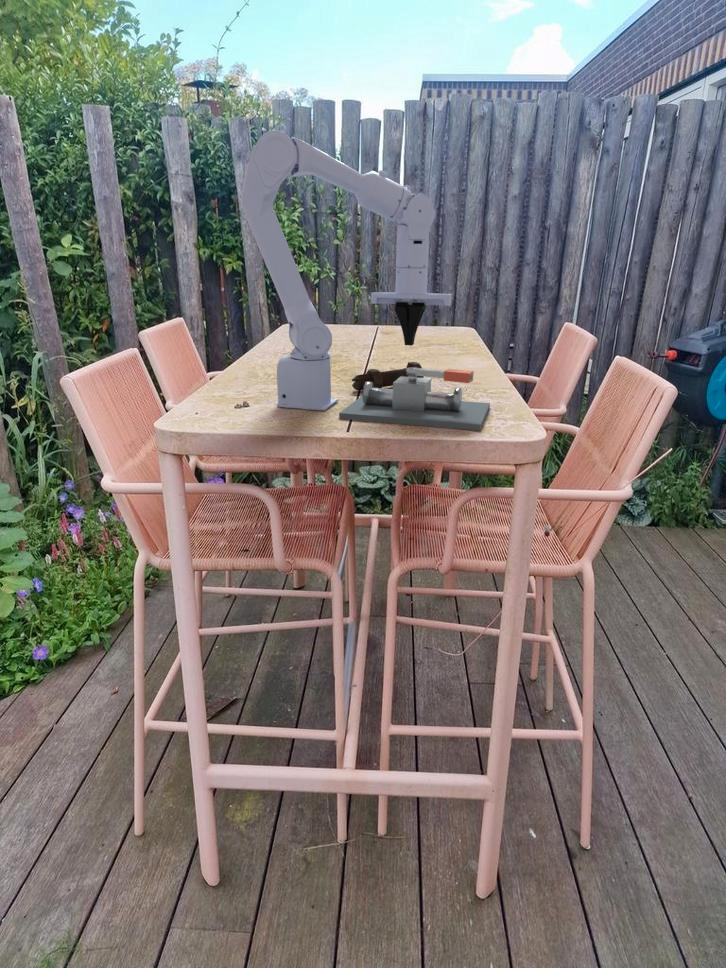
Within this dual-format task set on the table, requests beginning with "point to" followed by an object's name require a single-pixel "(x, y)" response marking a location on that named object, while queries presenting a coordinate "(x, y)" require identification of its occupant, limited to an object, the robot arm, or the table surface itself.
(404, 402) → the valve manifold
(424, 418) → the mounting plate
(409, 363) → the bolt
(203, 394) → the table surface
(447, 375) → the valve lever
